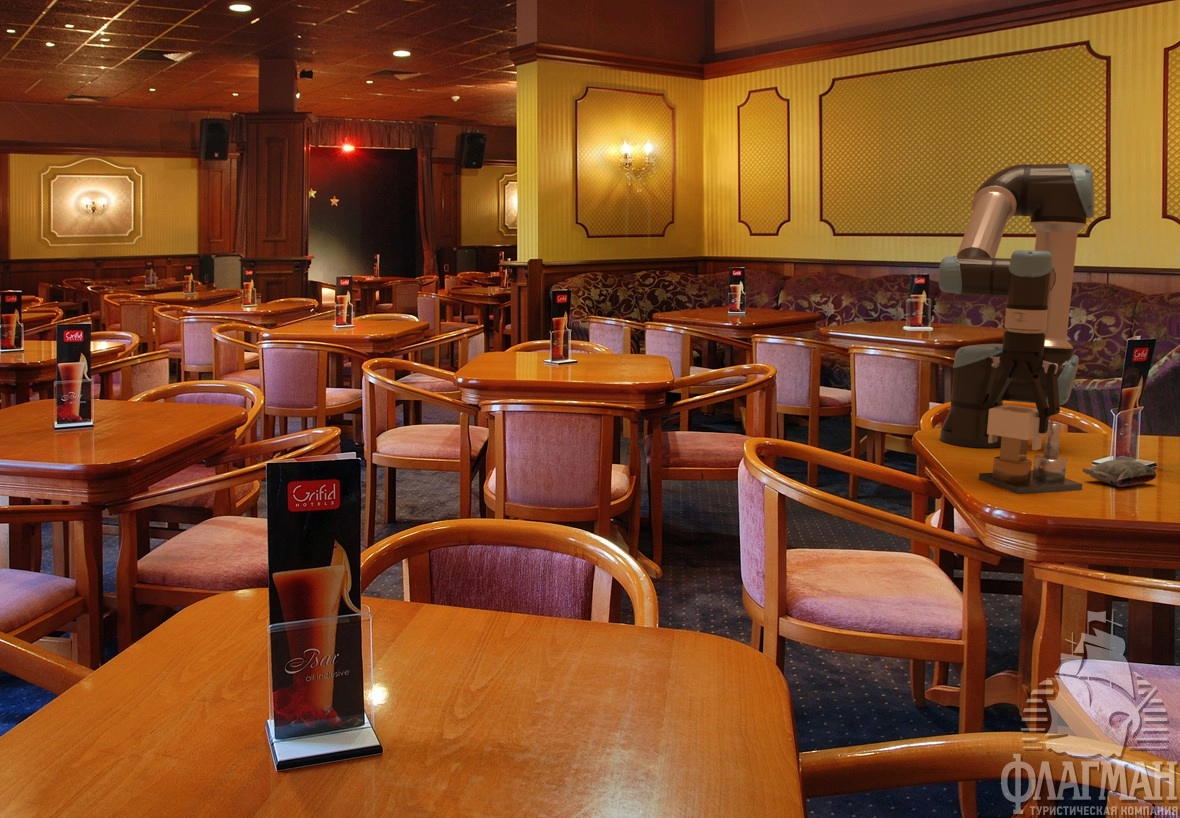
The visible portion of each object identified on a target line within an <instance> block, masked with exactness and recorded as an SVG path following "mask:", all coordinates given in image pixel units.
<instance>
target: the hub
mask: <svg viewBox="0 0 1180 818" xmlns="http://www.w3.org/2000/svg"><path fill="white" fill-rule="evenodd" d="M1028 444H1029V440H1022V439H1016V438H1009V437H1003V436H1002V437H1001V447H1000V449H999V456H995V457H994V458H993V466H992V467H993V468H992V473H993V476H992V478H993V479H994V480H996V481H999V482H1004V483H1011V484H1026V483H1029V482H1030V477H1031V470H1032V467H1033V466H1032V465H1033V462H1032V460H1031V459H1028V458H1027V457H1028Z"/></svg>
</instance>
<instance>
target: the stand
mask: <svg viewBox="0 0 1180 818" xmlns="http://www.w3.org/2000/svg"><path fill="white" fill-rule="evenodd" d="M1061 428H1062V423H1058V422H1050V421H1049V422H1048V431H1047V433H1045V441H1044V450H1043V451H1044V452H1043V454H1037V455H1034V461H1033V469H1032V470H1033V477H1035V478H1037V479H1041V480H1047V481H1063V480H1065V478H1066V472H1067V463H1068V462H1067V461H1068V459H1067V458H1066V457H1063V456H1060V455H1059V451H1060V450H1059V449H1060V440H1061V430H1062V429H1061Z"/></svg>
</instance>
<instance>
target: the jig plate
mask: <svg viewBox="0 0 1180 818" xmlns="http://www.w3.org/2000/svg"><path fill="white" fill-rule="evenodd" d="M992 476H993V472H982V473H981V472H980V473H978V480H979V481H982V482H985V483H988V484H991V485H992V486H993V485H994V486H996V487H999V488H1001V489H1003V488H1004V490H1006V491H1009V492H1012V493H1015V494H1018V495H1019V494H1020V495H1021V494H1022V493H1023V494H1036V493H1049V492H1050V493H1051V492H1069V491H1070V492H1071V491H1082V490H1083V485H1084V484H1083V483H1082V482H1081V483H1080V482H1078V481H1076V480H1073V479H1070V478H1066V477H1065V480H1063V481H1047V480H1041V479H1037V478H1035V477H1033V469H1031V477H1030V482H1029V483H1026V484H1011V483H1004V482H999V481H996V480H994V479H993V478H992ZM1023 494H1022V495H1023Z"/></svg>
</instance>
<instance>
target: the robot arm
mask: <svg viewBox="0 0 1180 818" xmlns="http://www.w3.org/2000/svg"><path fill="white" fill-rule="evenodd" d="M1094 188H1095V187H1094V175H1093V171H1092V168H1091V167H1090V166H1088V165H1087V164H1077V163H1048V164H1047V163H1045V164H1044V163H1041V164H1040V163H1039V164H1036V163H1035V164H1027V163H1021V164H1020V163H1019V164H1016V165H1014V164H1013V165H1011V166H1008V167H1005V168H1003V169H1001V170H999V171H997V172H995V173H993V174H992V175H991V176H989V177H988V178H987V179H986V180H984V182H983V183H982V184H981V185H980V186H979V187H978V188H977V189H976V192H975V193H974V195H973V199H972V201H971V209H972V210H971V211H972V214H971V217H970V219H969V221H968V225H967V227H966V229H965V231H964V235H963V237H962V239H961V243H960V245H959V247H958V251H957V252H956V255H951V256H945V257H943V258H942V259H941V261H940V263H939V267H938V268H939V269H938V287H939V289H940V291H941V292H944V293H947V294H948V293H950V294H956V295H983V296H984V295H985V296H986V295H987V296H988V295H989V296H1002V297H1007V298H1006V307H1005V318H1004V328H1005V329H1007V330H1005V331H1004V332H1003V338H1002V343H984V344H971V345H966V346H961V347H959V348H958V349H957V350H956V351H955V354H954V360H953V365H952V369H953V370H952V382H951V383H952V384H951V397H950V406H949V410H948V412H947V415H946V417H945V419H944V422H943V424H942V427H941V428H940V434H939V435H940V436H939V439H940V441H942V442H944V443H946V444H947V443H948V444H951V445H954V446H955V445H956V446H963V447H969V448H982V449H983V448H986V449H987V448H988V449H989V448H990V449H991V448H993V449H994V448H1001V437H1002V436H997V435H990V434H987V427H988V416H989V409H991V408H995V407H998V406H1002V405H1004V401H1006V402H1017V403H1025V404H1026V403H1028V404H1034V405H1035V406H1036V407H1035V408H1036V409H1037V410H1038V413H1039V415H1038V416H1036V417H1035V422H1034V432H1033V439H1032V445H1031V450H1032V451H1038V450H1041V449H1042V445H1043V444H1042V441H1043V435H1042V434H1044V435H1045V434H1046V433H1047V431H1048V423H1050V421H1049V419H1050V417H1052V416H1054V415H1055V416H1056V415H1059V413H1060V412H1061V408H1060V406H1062V405H1064V404H1066V403H1067V402H1068V400H1069V399H1070V397H1071V393H1072V390H1073V386H1074V383H1075V379H1076V375H1077V371H1078V366H1079V361H1080V358H1079V356H1078V355H1076V354H1073V351H1074V346H1073V345H1072V344H1071V343H1070V342H1069V341H1068V339H1067V338H1068V328H1069V320H1070V319H1069V317H1070V309H1071V300H1072V299H1071V298H1072V291H1073V289H1072V288H1073V280H1074V269H1075V261H1076V260H1075V259H1076V251H1077V244H1078V243H1077V242H1078V241H1077V240H1078V234H1079V233H1080V232H1081V230H1083V229H1084V228H1085V227H1086V225H1087V218H1088V219H1091V218H1093V217H1094V216H1095V189H1094ZM1013 217H1030V222H1029V224H1030V226H1031V227H1032V228H1033V229H1034V230H1035V233H1036V234H1035V243H1034V250H1030V249H1028V250H1027V249H1026V250H1025V249H1021V250H1019V249H1018V250H1017V249H1016V250H1014V251H1013V252H1012V253H1011V256H1010V258H1003V257H1002V258H1001V257H999V258H998V257H996V255H997V253H998V250H999V247H1000V244H1001V242H1002V238H1003V234H1004V232H1005V229H1006V226H1007V223H1008V221H1010V220H1011V219H1012V218H1013Z"/></svg>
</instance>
